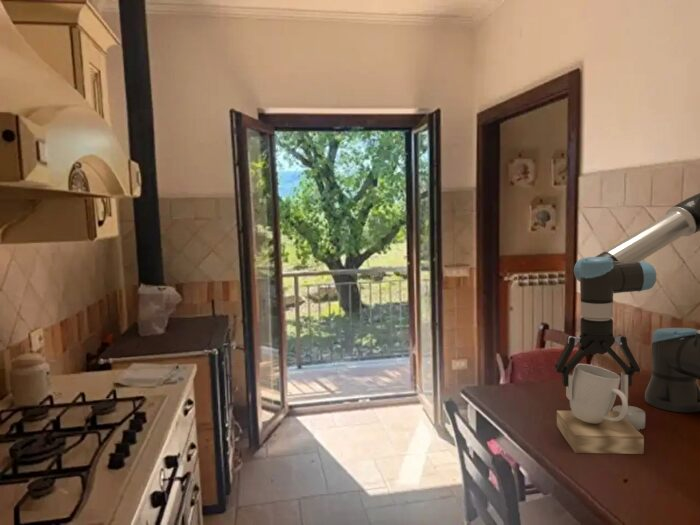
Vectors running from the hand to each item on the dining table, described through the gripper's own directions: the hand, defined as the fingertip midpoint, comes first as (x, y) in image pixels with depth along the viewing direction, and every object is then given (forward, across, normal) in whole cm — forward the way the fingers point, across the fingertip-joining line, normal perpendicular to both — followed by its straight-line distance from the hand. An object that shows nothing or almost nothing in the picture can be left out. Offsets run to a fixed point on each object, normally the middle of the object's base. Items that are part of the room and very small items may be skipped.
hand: (596, 398), depth 133 cm
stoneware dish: (+11, -12, -10) cm, 19 cm away
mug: (+6, +2, 0) cm, 6 cm away
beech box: (+12, 0, 0) cm, 12 cm away
